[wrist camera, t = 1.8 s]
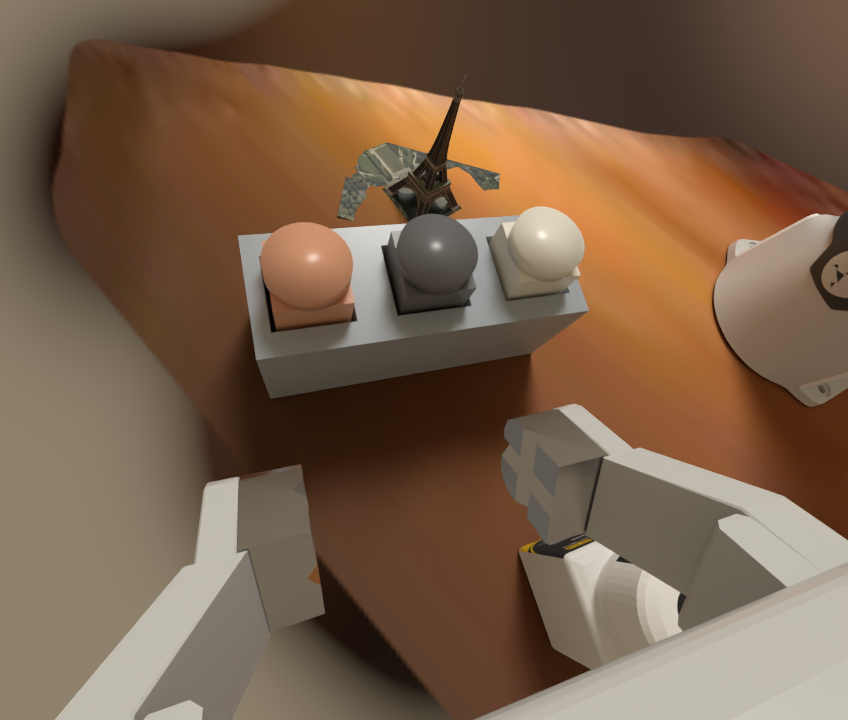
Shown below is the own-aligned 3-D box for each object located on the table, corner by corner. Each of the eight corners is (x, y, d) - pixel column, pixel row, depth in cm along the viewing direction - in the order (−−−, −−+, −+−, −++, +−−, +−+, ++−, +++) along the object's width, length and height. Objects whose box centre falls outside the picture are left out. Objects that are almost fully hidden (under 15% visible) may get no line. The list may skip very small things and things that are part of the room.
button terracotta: (337, 284, 32) (344, 219, 25) (350, 345, 31) (361, 295, 24) (267, 291, 31) (254, 225, 24) (278, 356, 30) (267, 306, 23)
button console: (505, 273, 41) (553, 213, 33) (531, 353, 39) (589, 310, 31) (255, 301, 35) (237, 235, 27) (270, 398, 33) (256, 360, 25)
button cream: (520, 264, 37) (570, 204, 30) (538, 317, 35) (594, 268, 28) (466, 270, 35) (505, 208, 28) (483, 326, 34) (528, 276, 27)
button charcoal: (434, 273, 34) (466, 211, 27) (450, 331, 33) (487, 281, 26) (373, 280, 33) (390, 216, 26) (387, 340, 32) (409, 290, 25)
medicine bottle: (592, 516, 36) (716, 517, 25) (629, 610, 34) (780, 655, 23) (515, 548, 34) (614, 564, 23) (551, 650, 32) (677, 722, 21)
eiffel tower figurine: (500, 177, 46) (568, 53, 34) (494, 261, 42) (568, 156, 30) (354, 137, 43) (371, -13, 31) (335, 223, 40) (346, 92, 27)
